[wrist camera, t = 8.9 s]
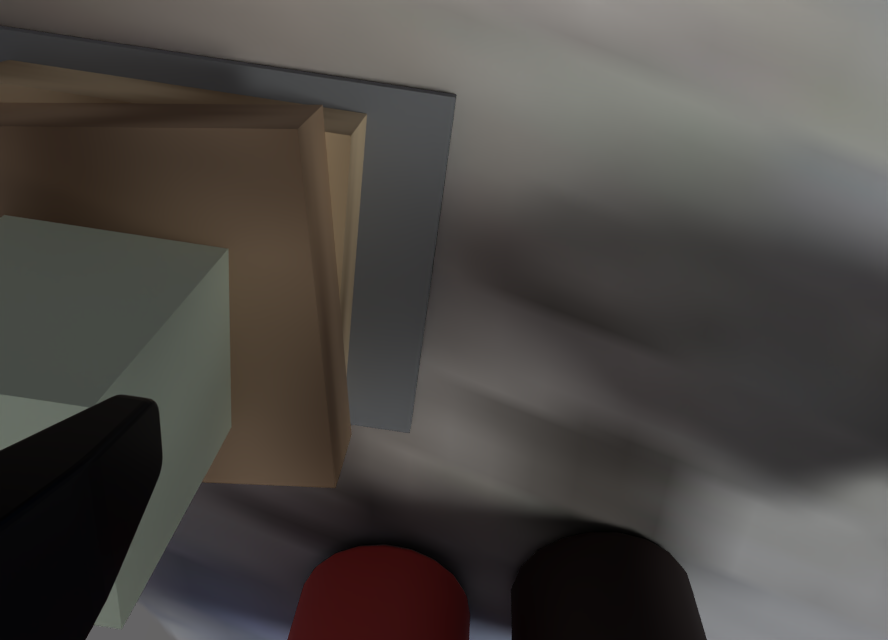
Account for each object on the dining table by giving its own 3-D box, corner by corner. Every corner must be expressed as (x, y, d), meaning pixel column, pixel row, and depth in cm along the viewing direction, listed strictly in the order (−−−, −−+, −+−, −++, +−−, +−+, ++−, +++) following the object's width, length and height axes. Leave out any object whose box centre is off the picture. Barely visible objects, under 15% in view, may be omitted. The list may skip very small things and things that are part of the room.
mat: (456, 94, 19) (455, 97, 18) (410, 425, 24) (409, 433, 24) (-72, 14, 19) (-83, 16, 18) (0, 364, 24) (-7, 371, 24)
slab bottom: (367, 113, 19) (351, 136, 17) (344, 405, 23) (329, 450, 21) (9, 59, 19) (-51, 75, 17) (57, 362, 23) (15, 403, 21)
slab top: (322, 104, 16) (297, 128, 14) (351, 434, 21) (335, 487, 19) (-70, 101, 17) (-148, 124, 15) (41, 422, 21) (-6, 473, 19)
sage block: (228, 248, 16) (91, 407, 10) (231, 427, 18) (121, 629, 13) (4, 215, 16) (-246, 357, 10) (37, 398, 18) (-152, 589, 13)
